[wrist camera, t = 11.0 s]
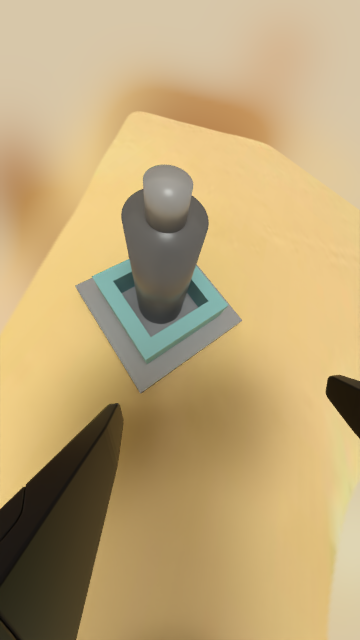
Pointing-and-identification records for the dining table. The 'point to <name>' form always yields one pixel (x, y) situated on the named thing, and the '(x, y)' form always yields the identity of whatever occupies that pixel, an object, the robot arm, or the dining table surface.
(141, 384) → the socket
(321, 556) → the dining table surface
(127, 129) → the dining table surface
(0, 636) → the robot arm
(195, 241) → the plug
